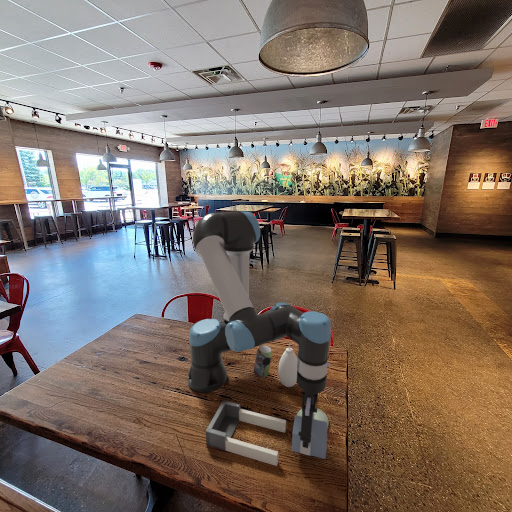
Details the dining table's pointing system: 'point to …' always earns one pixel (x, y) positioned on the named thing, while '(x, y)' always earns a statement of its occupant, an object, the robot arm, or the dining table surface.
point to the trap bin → (222, 425)
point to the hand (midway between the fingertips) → (306, 441)
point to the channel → (255, 450)
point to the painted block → (317, 437)
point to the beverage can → (263, 361)
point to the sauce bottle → (288, 368)
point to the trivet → (317, 416)
